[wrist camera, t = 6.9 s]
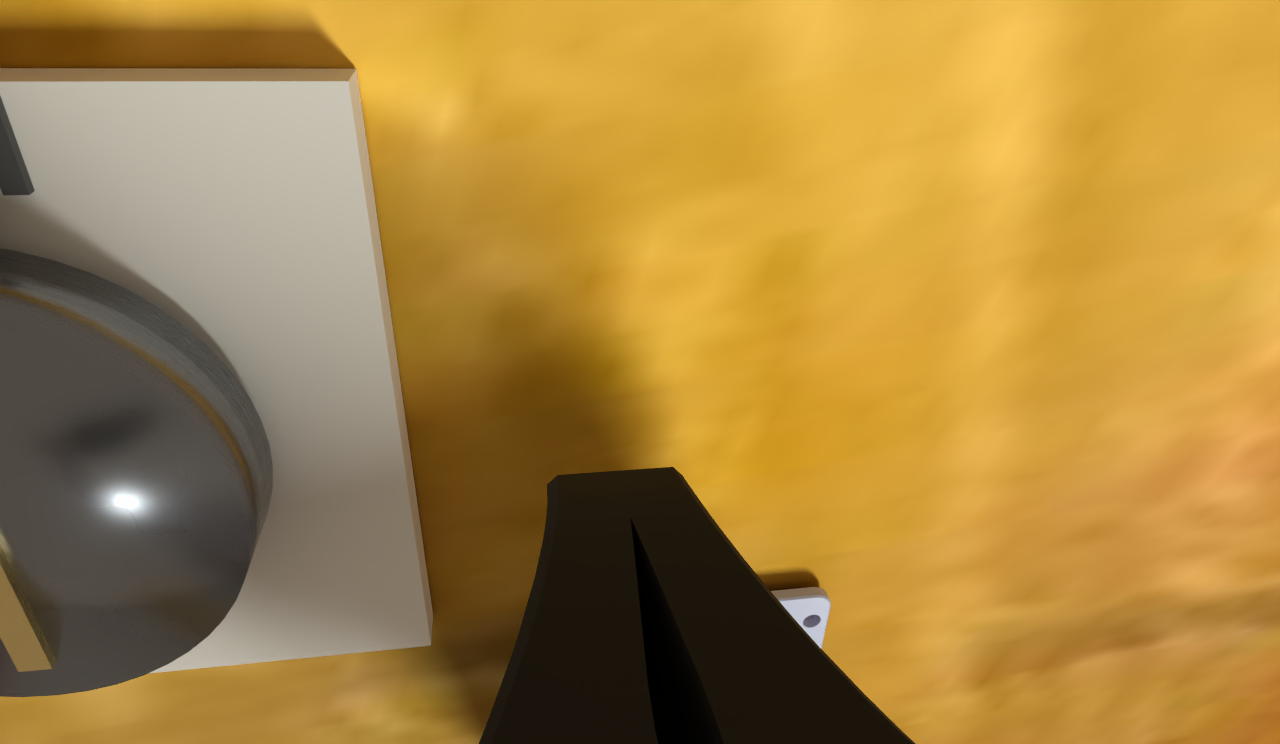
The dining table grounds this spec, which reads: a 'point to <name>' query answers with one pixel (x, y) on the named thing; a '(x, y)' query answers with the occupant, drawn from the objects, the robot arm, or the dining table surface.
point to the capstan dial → (115, 482)
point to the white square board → (249, 312)
